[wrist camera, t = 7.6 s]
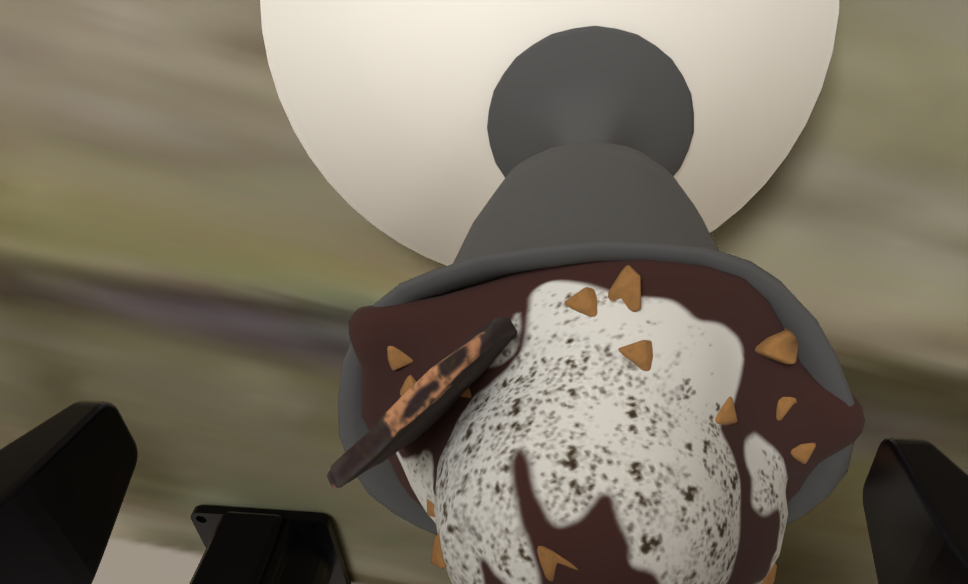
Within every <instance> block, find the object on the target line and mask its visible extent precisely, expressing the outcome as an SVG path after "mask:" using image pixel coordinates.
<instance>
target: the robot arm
mask: <svg viewBox="0 0 968 584" xmlns="http://www.w3.org/2000/svg"><path fill="white" fill-rule="evenodd" d="M136 462H137V446H136V443H135V441H134V439H133V437H132V435H131V433H130V432H129V430H128V428H127V426H126V424H125V422H124V420H123V418H122V416H121V415H120V413H119V411H118V409H117V408H116V407H115V406H114V405H113V404H111V403H109V402H100V401H80V402H76V403H74V404H72V405H70V406H69V407H67V408H65V409H64V410H62V411H61V412H59V413H58V414H56V415H54V416H53V417H51V418H50V419H48V420H46V421H45V422H43V423H42V424H40V425H39V426H37V427H35V428H34V429H32V430H31V431H29V432H27V433H26V434H24V435H23V436H21V437H20V438H18V439H16V440H15V441H13V442H12V443H10V444H8V445H7V446H5V447H4V448H2V449H1V450H0V584H91V583H92V581H93V579H94V577H95V574H96V572H97V569H98V567H99V564H100V562H101V559H102V556H103V554H104V551H105V548H106V546H107V543H108V540H109V538H110V535H111V532H112V529H113V527H114V524H115V521H116V518H117V516H118V513H119V510H120V507H121V505H122V502H123V499H124V496H125V494H126V491H127V488H128V485H129V483H130V480H131V477H132V475H133V472H134V469H135V466H136ZM863 505H864V511H865V516H866V521H867V527H868V532H869V537H870V542H871V547H872V552H873V558H874V563H875V568H876V573H877V578H878V583H879V584H968V474H967V473H966V472H964V471H963V470H962V469H961V468H960V467H959V466H958V465H956V464H955V463H954V462H953V461H952V460H951V459H950V458H949V457H947V456H946V455H945V454H944V453H943V452H942V451H941V450H939V449H938V448H937V447H936V446H935V445H934V444H932V443H931V442H929V441H927V440H924V439H919V438H898V437H890V438H886V439H884V440H883V441H882V442H881V444H880V446H879V448H878V451H877V453H876V456H875V458H874V461H873V463H872V466H871V468H870V471H869V474H868V476H867V479H866V481H865V484H864V489H863ZM191 520H192V522H193V523H194V525H195V527H196V529H197V531H198V533H199V535H200V537H201V539H202V541H203V543H204V545H205V547H206V550H205V553H204V555H203V557H202V559H201V561H200V563H199V565H198V567H197V569H196V571H195V573H194V575H193V577H192V579H191V582H190V584H351V582H350V579H349V576H348V573H347V570H346V566H345V563H344V560H343V557H342V554H341V551H340V548H339V545H338V541H337V538H336V535H335V532H334V529H333V526H332V523H331V520H330V518H329V517H327V516H326V515H324V514H320V513H309V512H294V511H279V510H264V509H249V508H234V507H219V506H204V505H199V506H196V507H195V509H194V511H193V513H192V515H191Z"/></svg>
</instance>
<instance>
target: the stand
mask: <svg viewBox="0 0 968 584" xmlns="http://www.w3.org/2000/svg"><path fill="white" fill-rule="evenodd" d="M260 5H261V21H262V32H263V37H264V42H265V48H266V53H267V59H268V64H269V67H270V70H271V74H272V77H273V80H274V83H275V86H276V90H277V93H278V96H279V99H280V101H281V103H282V106H283V108H284V110H285V112H286V114H287V117H288V119H289V121H290V123H291V126H292V128H293V130H294V132H295V133H296V135H297V137H298V138H299V140H300V142H301V143H302V145H303V147H304V148H305V150H306V152H307V154H308V155H309V157H310V158H311V160H312V161H313V162H314V164H315V165H316V166H317V168H318V169H319V170H320V172H321V173H322V174H323V176H324V177H325V178H326V180H327V181H328V182H329V183H330V184H331V185H332V187H333V188H334V189H335V190H336V191H337V192H338V193H339V194H340V195H341V196H342V197H343V198H344V199H345V200H346V201H347V202H348V204H349V205H350V206H351V207H353V208H354V209H355V210H356V211H357V212H358V213H360V214H361V215H362V216H363V217H364V218H366V219H367V220H368V221H369V222H370V223H371V224H373V225H374V226H375V227H377V228H378V229H379V230H381V231H382V232H384V233H385V234H387V235H388V236H390V237H391V238H393V239H394V240H396V241H397V242H399V243H400V244H402V245H404V246H406V247H408V248H409V249H411V250H413V251H415V252H417V253H419V254H421V255H423V256H424V257H426V258H429V259H431V260H434V261H436V262H439V263H441V264H444V265H446V266H447V265H451V264H453V262H454V260H455V258H456V256H457V254H458V252H459V250H460V248H461V246H462V244H463V242H464V240H465V238H466V236H467V234H468V232H469V230H470V228H471V226H472V224H473V222H474V221H475V219H476V218H477V216H478V215H479V213H480V212H481V211H482V209H483V208H484V206H485V205H486V204H487V202H488V201H489V199H490V198H491V197H492V195H493V194H494V192H495V191H496V190H497V188H498V187H499V186H500V184H501V183H502V182H503V180H504V179H505V177H504V175H503V174H502V172H501V171H500V169H499V168H498V166H497V165H496V163H495V160H494V157H493V154H492V150H491V147H490V143H489V137H488V131H487V123H488V114H489V107H490V103H491V99H492V95H493V91H494V89H495V88H496V86H497V84H498V82H499V81H500V79H501V77H502V75H503V74H504V72H505V71H506V70H507V68H508V67H509V66H510V65H511V63H512V62H513V61H514V59H515V58H516V57H517V56H518V55H520V54H521V53H522V52H524V51H525V50H526V49H528V48H529V47H530V46H532V45H533V44H535V43H537V42H538V41H540V40H542V39H544V38H545V37H547V36H549V35H551V34H553V33H557V32H561V31H565V30H569V29H573V28H580V27H588V26H601V27H608V28H616V29H620V30H623V31H627V32H631V33H634V34H638V35H639V36H641V37H643V38H644V39H646V40H647V41H649V42H651V43H652V44H654V45H656V46H657V47H658V48H659V49H660V50H662V51H663V52H664V53H665V54H666V55H668V56H669V57H670V58H671V59H672V60H673V61H674V63H675V65H676V66H677V68H678V69H679V71H680V72H681V74H682V75H683V77H684V79H685V81H686V84H687V86H688V88H689V90H690V92H691V95H692V102H693V110H694V134H693V137H692V140H691V144H690V147H689V150H688V153H687V155H686V157H685V159H684V161H683V164H682V166H681V168H680V169H679V170H678V172H677V173H676V174H675V175H674V178H675V179H676V181H677V182H678V183H679V185H680V186H681V187H682V189H683V190H684V192H685V193H686V194H687V196H688V197H689V198H690V200H691V201H692V203H693V204H694V205H695V207H696V209H697V210H698V212H699V214H700V215H701V217H702V219H703V221H704V223H705V225H706V227H707V229H708V231H709V233H710V232H712V231H714V230H715V229H716V228H718V227H719V226H720V225H721V224H723V223H724V222H725V221H726V220H728V219H729V218H730V217H731V216H732V215H734V214H735V213H736V212H737V211H739V210H740V209H741V208H742V207H743V206H744V205H745V204H746V203H747V202H748V201H749V200H750V199H751V198H752V197H753V196H754V195H755V194H756V193H757V192H758V191H759V190H760V189H761V188H762V187H763V186H764V185H765V184H766V183H767V181H768V180H769V179H770V177H771V176H772V175H773V173H774V172H775V171H776V170H777V168H778V167H779V166H780V164H781V163H782V162H783V161H784V159H785V158H786V157H787V155H788V154H789V152H790V150H791V149H792V147H793V145H794V144H795V142H796V140H797V139H798V137H799V135H800V134H801V132H802V130H803V129H804V127H805V125H806V123H807V121H808V119H809V117H810V114H811V112H812V110H813V107H814V105H815V103H816V101H817V98H818V96H819V94H820V92H821V89H822V86H823V83H824V79H825V76H826V72H827V69H828V66H829V62H830V59H831V56H832V52H833V46H834V40H835V34H836V27H837V21H838V15H839V0H260Z"/></svg>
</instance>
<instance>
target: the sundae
mask: <svg viewBox="0 0 968 584" xmlns="http://www.w3.org/2000/svg"><path fill="white" fill-rule="evenodd" d="M487 131H488V137H489V143H490V147H491V150H492V154H493V157H494V160H495V163H496V165H497V166H498V168H499V169H500V171H501V172H502V174H503V175H504V177H505V179H504V180H503V182H502V183H501V184H500V186H499V187H498V188H497V190H496V191H495V192H494V194H493V195H492V197H491V198H490V199H489V201H488V202H487V204H486V205H485V206H484V208H483V209H482V211H481V212H480V213H479V215H478V216H477V218H476V219H475V221H474V222H473V224H472V226H471V228H470V230H469V232H468V234H467V236H466V238H465V240H464V242H463V244H462V246H461V248H460V250H459V252H458V254H457V256H456V258H455V260H454V262H453V264H451V265H447V266H444V267H441V268H438V269H435V270H432V271H430V272H427V273H425V274H422V275H420V276H417V277H415V278H412V279H410V280H408V281H405V282H403V283H400V284H399V285H398V286H396V287H395V288H394V289H393V290H391V291H390V292H389V293H388V294H386V295H385V296H384V297H382V298H381V299H380V300H379V301H377V302H376V303H375V304H374V305H373V306H366V307H361V308H359V309H358V310H356V311H355V312H354V314H353V315H352V316H351V317H350V320H349V335H350V340H351V344H350V346H349V349H348V351H347V354H346V356H345V359H344V361H343V364H342V371H341V379H340V387H339V395H338V414H339V436H340V439H341V442H342V444H343V447H344V450H345V452H346V453H345V454H343V455H342V456H341V457H340V458H339V459H338V460H337V461H336V462H335V463H334V464H333V465H332V466H331V467H330V468H329V470H328V471H327V474H326V475H327V477H328V480H329V482H330V484H331V486H332V488H339V487H342V486H343V485H345V484H346V483H348V482H350V481H352V480H353V479H355V478H356V477H358V479H359V480H360V482H361V483H362V485H363V486H364V488H365V489H366V491H367V492H368V494H369V495H371V496H372V497H373V498H374V499H376V500H377V501H378V502H380V503H381V504H382V505H384V506H385V507H386V508H387V509H389V510H390V511H391V512H393V513H394V514H396V515H397V516H399V517H401V518H403V519H405V520H407V521H408V522H410V523H412V524H414V525H416V526H417V527H419V528H421V529H424V530H426V531H429V532H431V533H434V534H436V537H435V539H434V542H433V549H432V558H431V563H432V564H434V565H436V566H438V567H440V568H443V569H444V568H445V567H446V568H447V572H448V575H449V577H450V580H451V582H452V584H774V580H775V575H776V570H777V564H776V563H775V562H776V560H777V559H778V557H779V555H780V551H781V546H782V541H783V536H784V532H785V527H786V525H788V524H789V523H791V522H793V521H795V520H796V519H798V518H800V517H802V516H804V515H805V514H807V513H808V512H810V511H811V510H812V509H813V508H814V507H816V506H817V505H818V504H819V503H821V502H822V501H823V500H824V499H825V498H827V497H828V495H829V494H830V493H831V492H832V490H833V489H834V488H835V487H836V485H837V484H838V483H839V482H840V480H841V479H842V478H843V477H844V475H845V474H846V473H847V471H848V467H849V462H850V458H851V454H852V449H853V445H854V441H855V440H856V439H857V438H858V436H859V435H860V434H861V433H862V430H863V427H864V422H865V418H864V413H863V408H862V406H861V404H860V403H859V401H858V400H857V399H856V397H855V396H854V395H853V394H852V393H851V391H850V389H849V386H848V383H847V381H846V378H845V376H844V373H843V370H842V368H841V365H840V363H839V360H838V357H837V356H836V354H835V352H834V350H833V348H832V347H831V345H830V343H829V341H828V339H827V338H826V336H825V334H824V332H823V330H822V328H821V327H820V325H819V323H818V321H817V320H816V318H815V317H814V316H813V315H812V314H811V313H810V312H809V311H808V310H807V309H806V308H805V307H804V306H803V305H802V304H801V302H800V301H799V300H798V299H797V298H796V297H795V296H794V295H793V294H792V293H791V292H790V291H789V290H788V289H787V288H786V286H785V285H784V284H783V283H782V282H781V281H780V280H778V279H777V278H775V277H774V276H772V275H771V274H769V273H768V272H766V271H765V270H763V269H762V268H760V267H759V266H757V265H756V264H754V263H752V262H751V261H748V260H745V259H742V258H739V257H736V256H733V255H730V254H726V253H723V252H720V251H718V249H717V247H716V245H715V243H714V241H713V239H712V237H711V235H710V233H709V231H708V229H707V227H706V225H705V223H704V221H703V219H702V217H701V215H700V214H699V212H698V210H697V209H696V207H695V205H694V204H693V203H692V201H691V200H690V198H689V197H688V196H687V194H686V193H685V192H684V190H683V189H682V187H681V186H680V185H679V183H678V182H677V181H676V179H675V178H674V175H675V174H676V173H677V172H678V170H679V169H680V168H681V166H682V164H683V161H684V159H685V157H686V155H687V153H688V150H689V147H690V144H691V140H692V137H693V134H694V110H693V102H692V95H691V92H690V90H689V88H688V86H687V84H686V81H685V79H684V77H683V75H682V74H681V72H680V71H679V69H678V68H677V66H676V65H675V63H674V61H673V60H672V59H671V58H670V57H669V56H668V55H666V54H665V53H664V52H663V51H662V50H660V49H659V48H658V47H657V46H656V45H654V44H652V43H651V42H649V41H647V40H646V39H644V38H643V37H641V36H639V35H638V34H634V33H631V32H627V31H623V30H620V29H616V28H608V27H601V26H588V27H580V28H573V29H569V30H565V31H561V32H557V33H553V34H551V35H549V36H547V37H545V38H544V39H542V40H540V41H538V42H537V43H535V44H533V45H532V46H530V47H529V48H528V49H526V50H525V51H524V52H522V53H521V54H520V55H518V56H517V57H516V58H515V59H514V61H513V62H512V63H511V65H510V66H509V67H508V68H507V70H506V71H505V72H504V74H503V75H502V77H501V79H500V81H499V82H498V84H497V86H496V88H495V89H494V91H493V95H492V99H491V103H490V107H489V114H488V123H487Z"/></svg>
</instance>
